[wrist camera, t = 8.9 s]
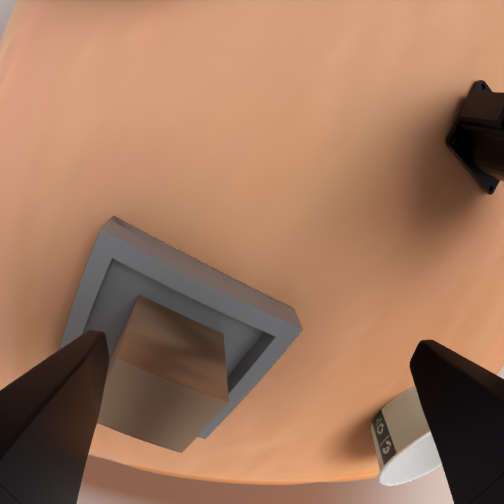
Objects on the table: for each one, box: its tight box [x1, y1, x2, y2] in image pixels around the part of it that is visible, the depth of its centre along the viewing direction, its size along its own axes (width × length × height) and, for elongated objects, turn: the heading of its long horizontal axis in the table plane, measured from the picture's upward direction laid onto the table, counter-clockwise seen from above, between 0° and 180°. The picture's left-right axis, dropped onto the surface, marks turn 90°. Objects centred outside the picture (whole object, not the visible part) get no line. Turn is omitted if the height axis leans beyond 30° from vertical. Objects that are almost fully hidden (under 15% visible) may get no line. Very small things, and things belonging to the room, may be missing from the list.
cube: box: [97, 294, 229, 453], centre depth 18 cm, size 6×6×6 cm
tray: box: [59, 216, 303, 439], centre depth 20 cm, size 13×13×2 cm
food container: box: [371, 387, 442, 486], centre depth 26 cm, size 12×12×6 cm
